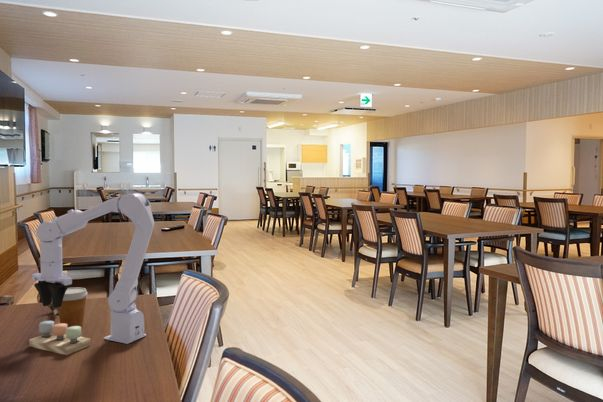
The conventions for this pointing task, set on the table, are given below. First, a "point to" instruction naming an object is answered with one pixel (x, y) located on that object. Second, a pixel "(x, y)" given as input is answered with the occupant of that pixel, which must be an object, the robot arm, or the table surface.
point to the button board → (59, 344)
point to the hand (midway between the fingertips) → (52, 306)
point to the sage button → (73, 333)
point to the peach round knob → (59, 331)
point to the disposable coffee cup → (73, 307)
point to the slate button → (46, 328)
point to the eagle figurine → (53, 308)
